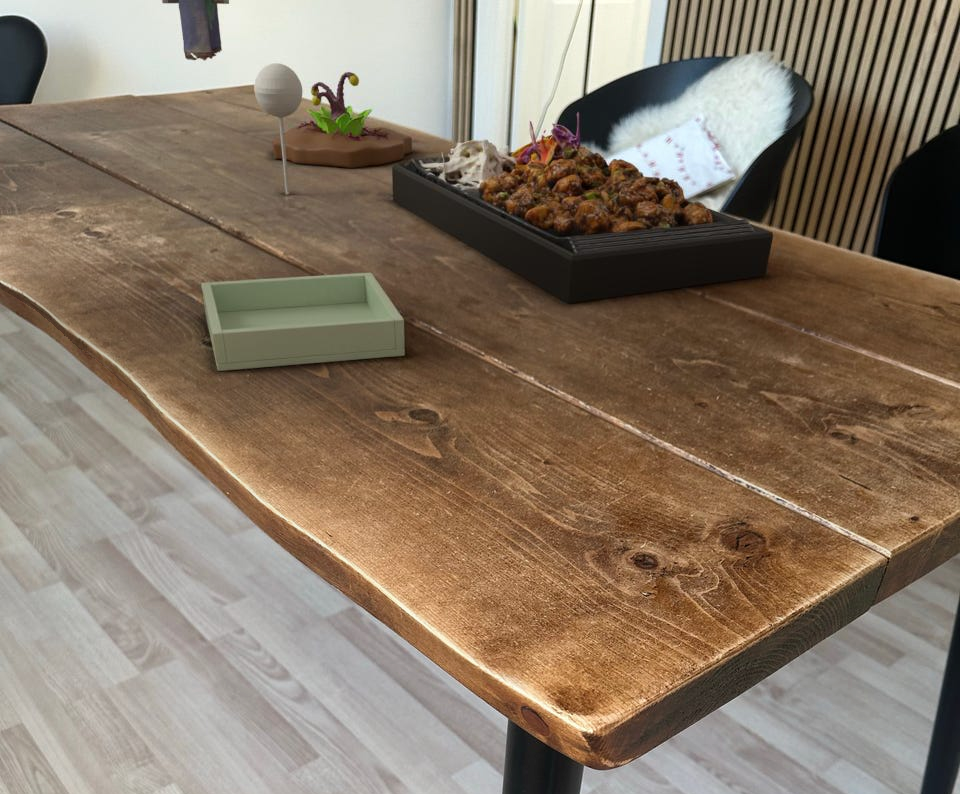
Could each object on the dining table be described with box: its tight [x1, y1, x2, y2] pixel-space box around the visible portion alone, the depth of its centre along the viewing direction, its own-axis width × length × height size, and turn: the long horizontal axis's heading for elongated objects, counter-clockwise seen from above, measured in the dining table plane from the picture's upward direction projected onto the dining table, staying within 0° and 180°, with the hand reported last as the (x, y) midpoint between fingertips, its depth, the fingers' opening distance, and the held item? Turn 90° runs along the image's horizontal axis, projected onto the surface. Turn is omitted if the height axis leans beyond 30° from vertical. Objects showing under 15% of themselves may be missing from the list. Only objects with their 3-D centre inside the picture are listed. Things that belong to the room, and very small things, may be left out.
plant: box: [271, 71, 413, 169], centre depth 146 cm, size 20×20×11 cm
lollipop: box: [253, 62, 303, 195], centre depth 123 cm, size 6×6×15 cm
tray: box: [200, 272, 406, 372], centre depth 84 cm, size 16×14×3 cm
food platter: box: [391, 111, 774, 304], centre depth 112 cm, size 45×25×10 cm, turn 26°
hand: (196, 3), depth 88 cm, fingers closed on flask, 3 cm apart
